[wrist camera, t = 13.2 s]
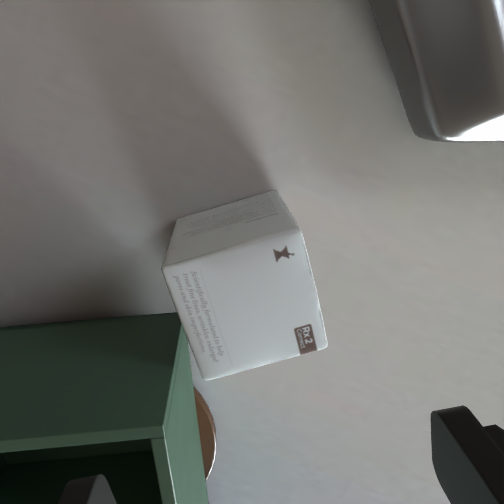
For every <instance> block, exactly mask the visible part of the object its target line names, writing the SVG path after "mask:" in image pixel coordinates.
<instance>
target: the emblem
mask: <svg viewBox="0 0 504 504" xmlns="http://www.w3.org/2000/svg"><path fill="white" fill-rule="evenodd" d="M369 1H370V4H371V7H372V10H373V13H374V16H375V19H376V22H377V25H378V28H379V31H380V34H381V37H382V40H383V43H384V46H385V49H386V53H387V56H388V59H389V62H390V65H391V68H392V71H393V74H394V77H395V80H396V83H397V86H398V89H399V92H400V95H401V98H402V101H403V104H404V107H405V111H406V114H407V117H408V119H409V122H410V125H411V128H412V130H413V132H414V133H415V134H416V135H417V136H418V137H420V138H423V139H427V140H432V141H440V142H504V0H369Z"/></svg>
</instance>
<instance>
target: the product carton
mask: <svg viewBox="0 0 504 504" xmlns="http://www.w3.org/2000/svg"><path fill="white" fill-rule="evenodd" d="M161 269H162V272H163V275H164V278H165V281H166V284H167V286H168V289H169V292H170V294H171V297H172V300H173V302H174V305H175V308H176V310H177V313H178V316H179V318H180V321H181V323H182V326H183V329H184V331H185V334H186V336H187V339H188V342H189V344H190V347H191V350H192V352H193V354H194V357H195V359H196V362H197V365H198V367H199V370H200V372H201V375H202V377H203V379H204V380H210V379H215V378H219V377H223V376H227V375H230V374H234V373H237V372H241V371H244V370H248V369H251V368H255V367H258V366H262V365H265V364H269V363H273V362H276V361H280V360H284V359H288V358H291V357H295V356H299V355H302V354H305V353H309V352H313V351H317V350H321V349H324V348H326V347H327V338H326V333H325V328H324V323H323V318H322V313H321V309H320V304H319V299H318V294H317V289H316V286H315V282H314V278H313V274H312V270H311V266H310V261H309V257H308V253H307V250H306V246H305V242H304V238H303V234H302V231H301V229H300V228H299V226H298V224H297V222H296V221H295V219H294V217H293V216H292V214H291V212H290V211H289V209H288V207H287V206H286V204H285V202H284V201H283V199H282V198H281V196H280V195H279V193H278V191H277V190H272V191H269V192H266V193H263V194H259V195H256V196H253V197H250V198H246V199H243V200H240V201H236V202H233V203H229V204H226V205H223V206H219V207H216V208H212V209H209V210H206V211H202V212H199V213H195V214H191V215H188V216H185V217H182V218H178V219H177V220H176V223H175V227H174V229H173V233H172V236H171V240H170V243H169V246H168V249H167V252H166V256H165V259H164V262H163V265H162V268H161Z"/></svg>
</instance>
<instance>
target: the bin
mask: <svg viewBox="0 0 504 504" xmlns="http://www.w3.org/2000/svg"><path fill="white" fill-rule="evenodd" d="M100 474H102V475H104V476H105V478H106V479H107V482H108V484H109V487H110V489H111V491H112V494H113V496H114V498H115V501H116V503H117V504H209V503H208V496H207V488H206V480H205V473H204V465H203V457H202V449H201V442H200V434H199V426H198V419H197V411H196V403H195V396H194V388H193V380H192V372H191V365H190V357H189V349H188V342H187V336H186V334H185V331H184V329H183V326H182V323H181V321H180V318H179V316H178V313H177V312H176V313H164V314H152V315H140V316H128V317H116V318H104V319H92V320H80V321H68V322H56V323H44V324H32V325H20V326H8V327H0V504H58V502H59V500H60V497H61V495H62V492H63V490H64V488H65V486H66V484H67V483H68V482H69V481H70V480H74V479H79V478H85V477H90V476H95V475H100Z"/></svg>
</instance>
